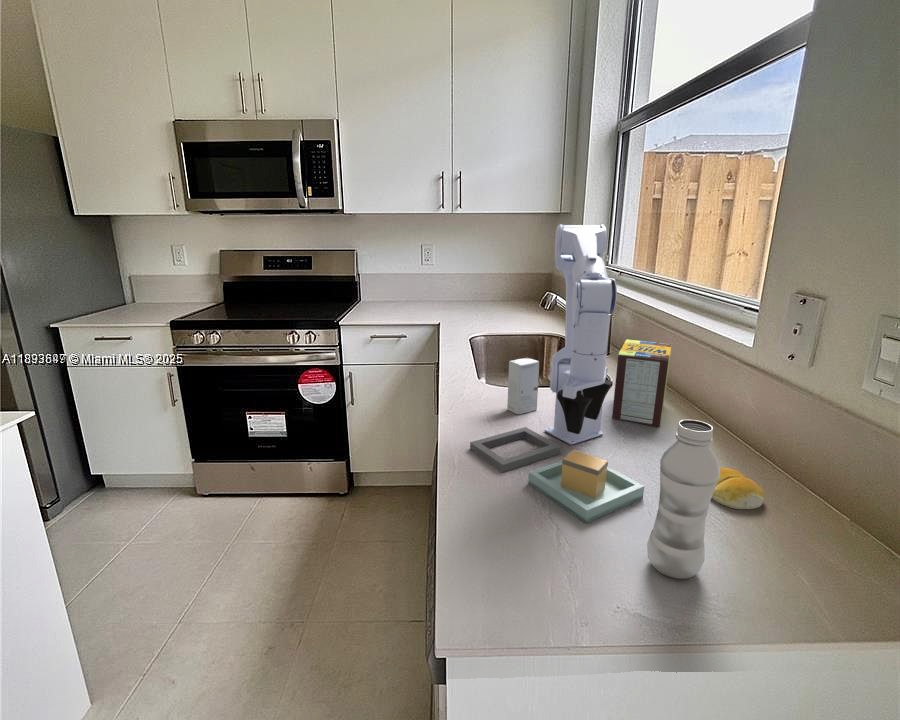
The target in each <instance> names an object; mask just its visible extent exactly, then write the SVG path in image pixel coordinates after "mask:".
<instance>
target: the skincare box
mask: <svg viewBox="0 0 900 720" xmlns="http://www.w3.org/2000/svg"><path fill="white" fill-rule="evenodd" d="M539 372H540V361H539V360H536V359H533V358H530V357H524V358H517V359H514V360H509V362H508V381H507V383H508V384H507V403H506V408H507V409H506V410H509V411H510V412H512V413H514V414H516V415H517V416H518V415H523V414H527V413H530V412H535V411H537V408H538V394H539V393H538V391H539V375H540V374H539Z"/></svg>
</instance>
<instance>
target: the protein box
mask: <svg viewBox="0 0 900 720" xmlns="http://www.w3.org/2000/svg"><path fill="white" fill-rule="evenodd" d="M671 354H672V343H665V342H658V341H657V342H656V341H645V340H639V339H638V340H635V339H625V341H624V343H623V345H622V347H621V348H620V350H619V352H618V354H617V365H616V373H615V384H614V394H613V405H612V415H611V419H612V420H619V421H623V422H629V423H630V422H631V423H635V424H641V425H648V426H653V427H658V426H659V427H661V423H662V416H663V410H664V404H665V397H666V390H667V385H668V375H669V370H670V362H671V356H672V355H671ZM659 427H658V428H659Z"/></svg>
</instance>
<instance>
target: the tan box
mask: <svg viewBox="0 0 900 720" xmlns="http://www.w3.org/2000/svg"><path fill="white" fill-rule="evenodd" d="M561 461H562V477H561V486H563V487H565V488H568V489H571V490H574V491H576V492H579V493H582V494H585V495H587V496H590V497H593V498H596V497H597V496H598V495H599V494H600V493H601V492H602V491H603V490H604V489H605V483H606V474H607V466H608V465H609V460H607V459H603V458H600V457H597V456H594V455H591V454H587V453H583V452H580V451H578V450H575V449H573V450H571V451H570V452H569V453H568V454H567V455H566V456H565V457H563V458H562V460H561ZM608 467H609V466H608Z"/></svg>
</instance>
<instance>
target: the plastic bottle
mask: <svg viewBox="0 0 900 720" xmlns="http://www.w3.org/2000/svg"><path fill="white" fill-rule="evenodd" d="M713 433H714V427H713V426H712V425H711V424H710V423H707V422H705V421H701V420H696V419H681V420H680V421H679V422H678V423H677V431H676V432H675V439H676V440H677V441H676V442H674V443H673V444H672V445H670V446H669V447H668V448H667V449H666V450H665V451H664V452H663V454H662V456H661V458H660V459H659V460H660V466H659V483H660V484H659V501H658V508H657V512H656V517H655V520H654V524H653V527H652V529H651V532H650V534H649V537H648V540H647V543H646V551H647V554H646V555H647V558H648V560H649V561H650V563H651V565H652V567H653V568H654V569H655V570H656V571H658V572H659V573H661V574H662V575H664V576H666V577H669V578H673V579H678V580H686V579H691V578H693V577H694V576H695V575H697V574H699V572H700V571H701V570H702V568H703V564H704V562H705V559H706V558H705V552H706V551H705V549H706V548H705V531H706V521H707V520H706V519H707V516H708V511H709V509H710V504H711V500H712V499H713V498H712V495H713V493H714V490H715V487H716V485H717V482H718V480H719V476H720V468H721V467H720V463H719V462H720V461H719V460H718V458H717V456H716V454H715V453H714V452H713V450H712V449H711V447H710V446H711V445H712V444H713V442H714V439H713V436H714V435H713Z"/></svg>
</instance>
